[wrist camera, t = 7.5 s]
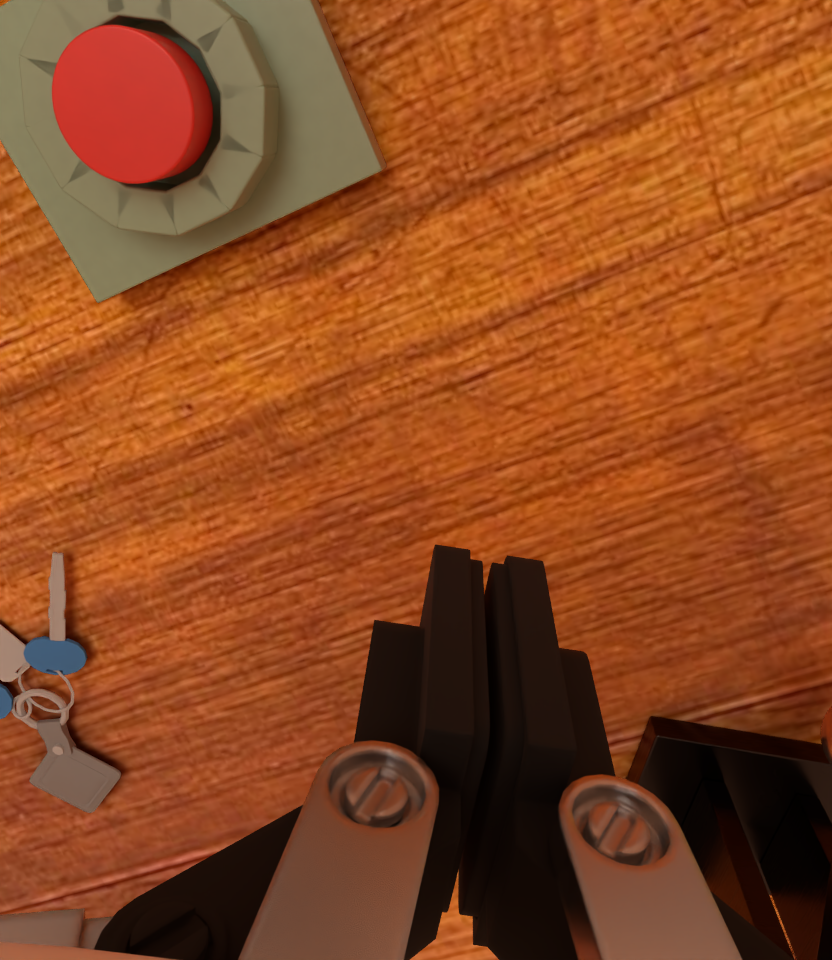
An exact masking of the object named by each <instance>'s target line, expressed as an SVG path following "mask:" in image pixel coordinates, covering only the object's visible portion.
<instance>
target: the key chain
mask: <svg viewBox="0 0 832 960" xmlns="http://www.w3.org/2000/svg"><path fill="white" fill-rule="evenodd" d="M49 590H50V606H49V609H48V618H50V637H46V636H42V637H38V638H34V639H32V640H31V641H30V642H29V643H27V645H25V644H24V643H22V642H21V641H20V640H19V639H18V638H16V637H15V636H14V635H13V634H12V633H10V632H9V631H8V630H7V629H6V628H4V627H3V626H2V625H1V624H0V680H1V681H3V682H11V681H13V680H14V679H16V678H17V677H18V684H19V686H20V688H21V690H22V692H23V693H21V695H18V696H16V697H15V698H14V699H13V696H12V694H11V693H10V691H9V690H8V688H7V687H6V686H4V685H2V684H1V683H0V719H2V718H5V717H6V715H7V714H8V713H9V712H10V711H11V710H12V713H13V714H14V716H15V717H16V718H18V719H21V720H22V721H23V722H25V723H26V724H27V725H29V726H30V727H32V728H35V729H38V732H39V734H40V735H41V737H42V738H43V740H44V741H45V744H46V747H47V751H48V753H47V755H46V756H45V757H44V759H43V760H42V762H41V763H40V765H39V766H38V767H37V769H36V770H35V772H34V773H33V775H32V776H31V778H30V783H31V784H32V785H34V786H36V787H38V788H40V789H42V790H44V791H46V792H47V793H49V794H51V795H53V796H55V797H57V798H59V799H61V800H63V801H65V802H67V803H69V804H71V805H73V806H75V807H77V808H79V809H81V810H83V811H85V812H88V813H92V812H94V811H95V810H96V808H97V807H98V806H99V804H100V803H101V802H102V801H103V799H104V798H105V797H106V795H107V794H108V793H109V792H110V790H111V789H112V788H113V786H114V785H115V784H116V782H117V781H118V780H119V779H120V777H121V772H120V771H119V770H118V769H116V768H114V767H112V766H110V765H108V764H106V763H104V762H103V761H101V760H99V759H97V758H95V757H93V756H91V755H89V754H87V753H85V752H84V751H82V750H80V749H78V748H76V744H75V743H74V741H73V740H72V738H71V737H70V734H69V731H68V728H67V725H66V722H67V720H68V719H69V709H70V708H71V706H72V705H73V704H74V691H73V689H72V687H71V684H70V682H69V680H68V679H67V678H66V677H65V676H64V675H67V674H71V673H74V672H77V671H78V670H80V669H81V668H82V667H84V665H85V662H86V660H87V654H86V650H85V649H84V648H83V647H82V646H81V645H80V644H79V643H78V642H75V641H73V640H71V639H65V636H66V618H64V612H65V609H66V590H65V569H64V554H63V553H57V552H53V554H52V565H51V576H50V577H49ZM21 666H22V667H21ZM30 666H32V667H33V668H35V669H37V670H39V671H41V672H43V673H48V674H53V675H60V676H61V677H62V678H63V679H64V680H65V681H66V683H67V685H68V687H69V689H70V691H71V702H70V703H69V705H68V706H67V704H66V703H65V701H64V699H63V698H61V697H60V696H59V695H57V694H56V693H55V692H52V691H49V690H46V689H30V690H28V691H25V689H24V687H23V685H22V683H21V674H22V673H24V672H25V671H26V670H27V669H28V668H29V667H30ZM20 667H21V668H20ZM25 667H26V668H25ZM19 668H20V670H19V671H18V673H17V672H16V671H17V670H18V669H19ZM31 696H42V697H45V698H48V699H50V700H52V701H53V702H54V703H56V704H57V705H58V707H59V708H60V710H52V709H47V708H45V707H43V706H41V705H40V704H38V703H36V702H35V701H34V700H33V699H32V698H31ZM16 700H17V701H16ZM25 701H26V702H27V704H28V713H27V712H26V710H25V709H24V703H25ZM15 702H16V707H17V712H16V710H15ZM32 704H34V705H35V706H37V707H39V708H41V709H42V710H44V711H48V712H54V713H61V717H60V718H59V719H48V720H39V721H36V720H35V719H33V718H32V717H31V716H30V714H31V713H32Z"/></svg>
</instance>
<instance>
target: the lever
mask: <svg viewBox="0 0 832 960" xmlns="http://www.w3.org/2000/svg"><path fill="white" fill-rule="evenodd" d="M820 734H821V743H822V748H823V751H824V753H825V756H826V758H827V759H828V761H829V763H830V764H831V766H832V706H831V707H830V708H829V710H828V711H827V712H826V714H825V716H824V718H823V721H822V725H821V732H820ZM817 960H832V861H831V868H830V874H829V881H828V887H827V894H826V901H825V907H824V914H823V920H822V927H821V934H820V940H819V947H818V953H817Z"/></svg>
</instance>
